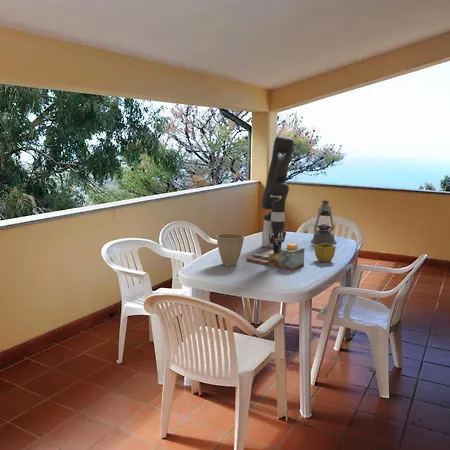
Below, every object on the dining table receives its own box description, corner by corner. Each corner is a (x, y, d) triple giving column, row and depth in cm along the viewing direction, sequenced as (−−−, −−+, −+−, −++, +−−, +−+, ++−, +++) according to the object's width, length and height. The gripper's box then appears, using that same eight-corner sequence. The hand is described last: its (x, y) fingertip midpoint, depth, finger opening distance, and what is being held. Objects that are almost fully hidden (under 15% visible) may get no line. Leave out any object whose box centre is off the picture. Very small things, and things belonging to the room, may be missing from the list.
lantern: (313, 237, 323) (315, 195, 318) (341, 241, 311) (343, 197, 306) (302, 242, 309) (303, 197, 303) (330, 246, 297) (332, 200, 292)
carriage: (268, 260, 254) (268, 243, 252) (274, 258, 258) (275, 242, 256) (279, 262, 249) (279, 245, 247) (285, 260, 254) (285, 243, 252)
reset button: (286, 250, 246) (287, 244, 245) (290, 248, 249) (291, 243, 248) (293, 251, 243) (293, 245, 243) (297, 250, 246) (297, 244, 246)
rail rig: (246, 260, 260) (246, 243, 258) (259, 256, 269) (259, 240, 267) (291, 270, 241) (292, 252, 239) (303, 266, 250) (304, 248, 248)
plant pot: (238, 269, 243) (238, 239, 240) (212, 266, 248) (212, 237, 245) (247, 262, 257) (247, 234, 254) (222, 259, 262) (222, 232, 259)
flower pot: (323, 263, 255) (323, 247, 253) (313, 260, 262) (313, 244, 261) (335, 262, 259) (336, 246, 257) (325, 258, 266) (326, 243, 265)
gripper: (279, 217, 257) (278, 247, 260) (264, 220, 247) (264, 252, 250) (291, 219, 252) (290, 249, 255) (276, 222, 242) (275, 254, 245)
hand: (277, 250), depth 253 cm, fingers closed on carriage, 3 cm apart
